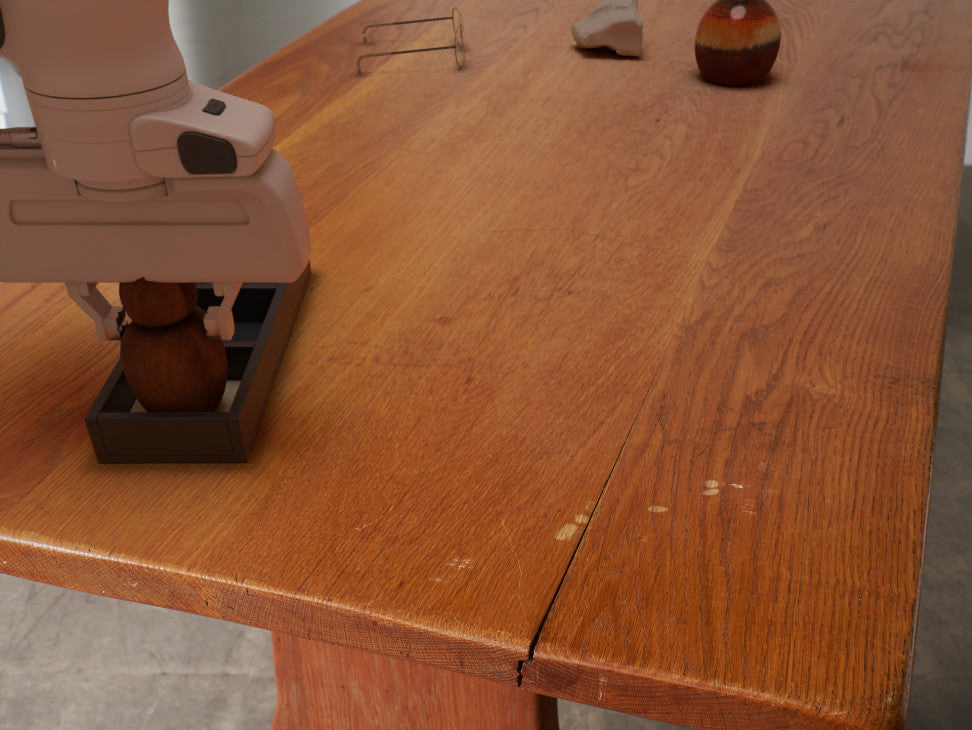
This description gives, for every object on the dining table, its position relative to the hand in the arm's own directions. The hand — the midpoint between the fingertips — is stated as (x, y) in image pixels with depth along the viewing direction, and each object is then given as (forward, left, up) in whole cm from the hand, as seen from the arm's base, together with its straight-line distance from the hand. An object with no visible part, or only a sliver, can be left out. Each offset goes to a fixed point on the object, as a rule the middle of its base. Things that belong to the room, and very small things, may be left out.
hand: (169, 336), depth 68 cm
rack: (0, +9, -7) cm, 12 cm away
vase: (+53, +82, -7) cm, 98 cm away
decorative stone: (+37, +95, -7) cm, 103 cm away
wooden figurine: (0, 0, -6) cm, 6 cm away
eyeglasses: (+9, +93, -7) cm, 94 cm away
